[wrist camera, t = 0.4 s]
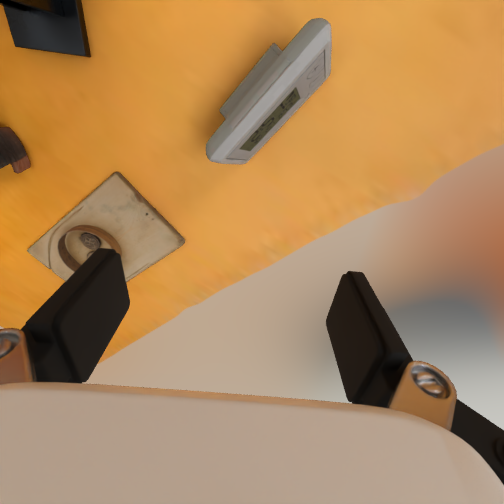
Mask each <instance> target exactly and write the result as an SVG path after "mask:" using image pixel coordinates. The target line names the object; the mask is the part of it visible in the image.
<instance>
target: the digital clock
mask: <svg viewBox="0 0 504 504" xmlns="http://www.w3.org/2000/svg"><path fill="white" fill-rule="evenodd" d="M331 47H332V39H331V25H330V24H329V22H328V21H327V20H325V19H323V18H316V19H311V20H310V21H308V22H307V23H306V24H305V26H304V27H303V28H302V29H301V30H300V31H299V33H298V34H297V35H296V36H295V37H294V38H293V40H292V41H291V42H290V43H289V44H288V46H287V47H286V48H285V49H284V50H283V51H282V50H281V49H280V48H279V47H278V46H277V45H276V44H275V43H273V44H272V45H271V46H270V48H269V49H268V50H267V51H266V53H265V54H264V55H263V56H262V57H261V59H260V60H259V61H258V62H257V64H256V65H255V66H254V67H253V69H252V70H251V71H250V72H249V74H248V75H247V76H246V77H245V78H244V80H243V81H242V82H241V83H240V85H239V86H238V87H237V88H236V90H235V91H234V92H233V93H232V95H231V96H230V97H229V98H228V99H227V101H226V102H225V103H224V104H223V106H222V107H221V108H220V112H221V114H222V115H223V116H224V117H225V119H226V120H225V121H224V122H223V123H222V124H221V126H220V127H219V128H218V129H217V130H216V132H215V133H214V134H213V135H212V137H211V138H210V139H209V140H208V142H207V144H206V155H207V157H208V159H209V160H210V161H212V162H216V163H222V164H245V163H247V162H248V161H249V160H250V159H251V158H252V157H253V156H254V155H255V154H256V153H257V152H258V151H259V150H260V148H261V147H262V146H263V145H264V144H265V143H266V142H267V141H268V140H269V139H270V138H271V137H272V136H273V135H274V134H275V133H276V132H277V131H278V130H279V129H280V128H281V127H282V125H283V124H284V123H285V122H286V121H287V120H288V119H289V118H290V117H291V116H292V115H293V114H294V113H295V112H296V111H297V110H298V109H299V108H300V107H301V106H302V105H303V104H304V102H305V101H306V100H307V99H308V98H309V97H310V96H311V95H312V94H313V93H314V92H315V91H316V90H317V89H318V88H319V87H320V86H321V85H322V84H323V82H324V81H325V80H326V79H327V78H328V77H329V75H330V72H331Z"/></svg>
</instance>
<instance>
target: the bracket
mask: <svg viewBox="0 0 504 504" xmlns="http://www.w3.org/2000/svg"><path fill="white" fill-rule="evenodd" d="M0 5H3V7H4V10H5V14H6V17H7V20H8V24H9V27H10V31H11V34H12V37H13V41H14V44H15V46H16V47H21V48H28V49H35V50H42V51H50V52H57V53H64V54H71V55H78V56H85V57H91V55H90V49H89V43H88V37H87V32H86V26H85V20H84V14H83V8H82V3H81V0H0Z"/></svg>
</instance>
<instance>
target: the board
mask: <svg viewBox="0 0 504 504" xmlns="http://www.w3.org/2000/svg"><path fill="white" fill-rule="evenodd" d="M184 243H185V239H184V238H183V237H182V236H181V235H180V234H179V233H178V232H177V231H176V230H175V229H174V228H173V227H172V226H171V225H170V224H169V223H168V222H167V221H166V220H165V219H164V218H163V217H162V216H161V215H160V214H159V213H158V212H157V211H156V209H155V208H153V207H152V206H151V205H150V204H149V203H148V202H147V201H146V200H145V198H143V197H142V196H141V195H140V194H139V192H138V191H137V190H136V189H135V188H134V187H133V186H132V185H131V184H130V183H129V182H128V181H127V180H126V179H125V178H124V177H123V176H122V175H121V174H120V173H119V172H115V173H114V174H112V175H111V176H110V177H109V178H108V179H107V180H106V181H104V182H103V183H102V184H101V185H100V186H99V187H98V188H96V189H95V190H94V191H93V192H92V193H91V194H90V195H88V196H87V197H86V198H85V199H84V200H83V201H82V202H80V203H79V204H78V205H77V206H76V207H75V208H74V209H73V210H72V211H71V212H69V213H68V214H67V215H66V216H65V217H64V218H62V219H61V220H60V221H59V222H58V223H57V224H56V225H54V226H53V227H52V228H51V229H50V230H49V231H48V232H47V233H45V234H44V235H43V236H42V237H41V238H40V239H39V240H38V241H37V242H36V243H34V244H33V245H32V246H31V247H30V248H29V249H28V250H27V251H28V252H29V253H30V254H31V255H32V256H34V257H35V258H36V259H37V260H39V261H40V262H41V263H42V264H44V265H45V266H46V267H47V268H49V269H52V271H53V272H54V273H55V274H56V275H58V276H59V277H61V278H62V279H63V280H65V281H67V279H68V278H69V277H70V276H71V275H72V274H73V273H74V272H75V271H76V270H77V269H78V268H79V267H80V266H81V265H82V264H83V263H84V262H85V261H86V260H87V259H88V258H89V257H90V256H91V255H92V254H93V253H94V252H95V251H96V250H97V249H98V248H108V249H115V250H116V252H117V253H119V254H120V256H121V260H122V265H123V270H124V275H125V280H126V282H127V281H129V280H130V279H132V278H133V277H135V276H136V275H138V274H139V273H141V272H143V271H144V270H146V269H147V268H149V267H150V266H152V265H153V264H155V263H156V262H158V261H159V260H161V259H163V258H164V257H166V256H167V255H169V254H170V253H172V252H173V251H175V250H176V249H178V248H179V247H181V246H182V245H183V244H184Z"/></svg>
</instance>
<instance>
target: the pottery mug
mask: <svg viewBox="0 0 504 504" xmlns="http://www.w3.org/2000/svg"><path fill="white" fill-rule="evenodd" d="M8 164H11V165H12V167H13V169H14V172H15V173H21V172H22V171H24V170H26V169H28V168H30V162H29V159H28V156H27V154H26V152H25V150H24V147H23V145H22V144H21V142H20V140H19V139H18V137H17V136H16V135H15V134H14V132H13V131H12V130H11V129H10V128H9V127H0V168H3V167H4V166H6V165H8Z"/></svg>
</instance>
